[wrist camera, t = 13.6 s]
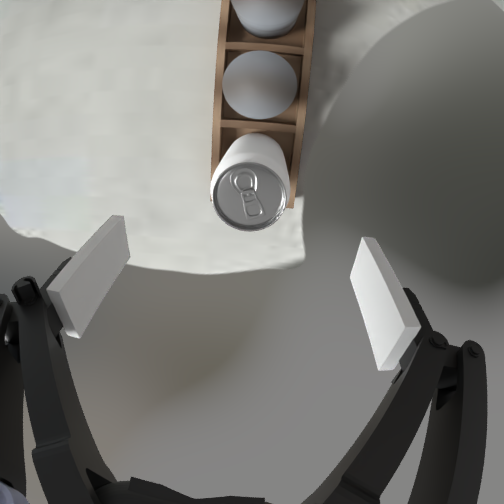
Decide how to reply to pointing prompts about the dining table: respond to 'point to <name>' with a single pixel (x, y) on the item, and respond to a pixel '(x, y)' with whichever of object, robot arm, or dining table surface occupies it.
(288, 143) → the socket rail
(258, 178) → the can
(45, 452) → the robot arm
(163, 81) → the dining table surface
